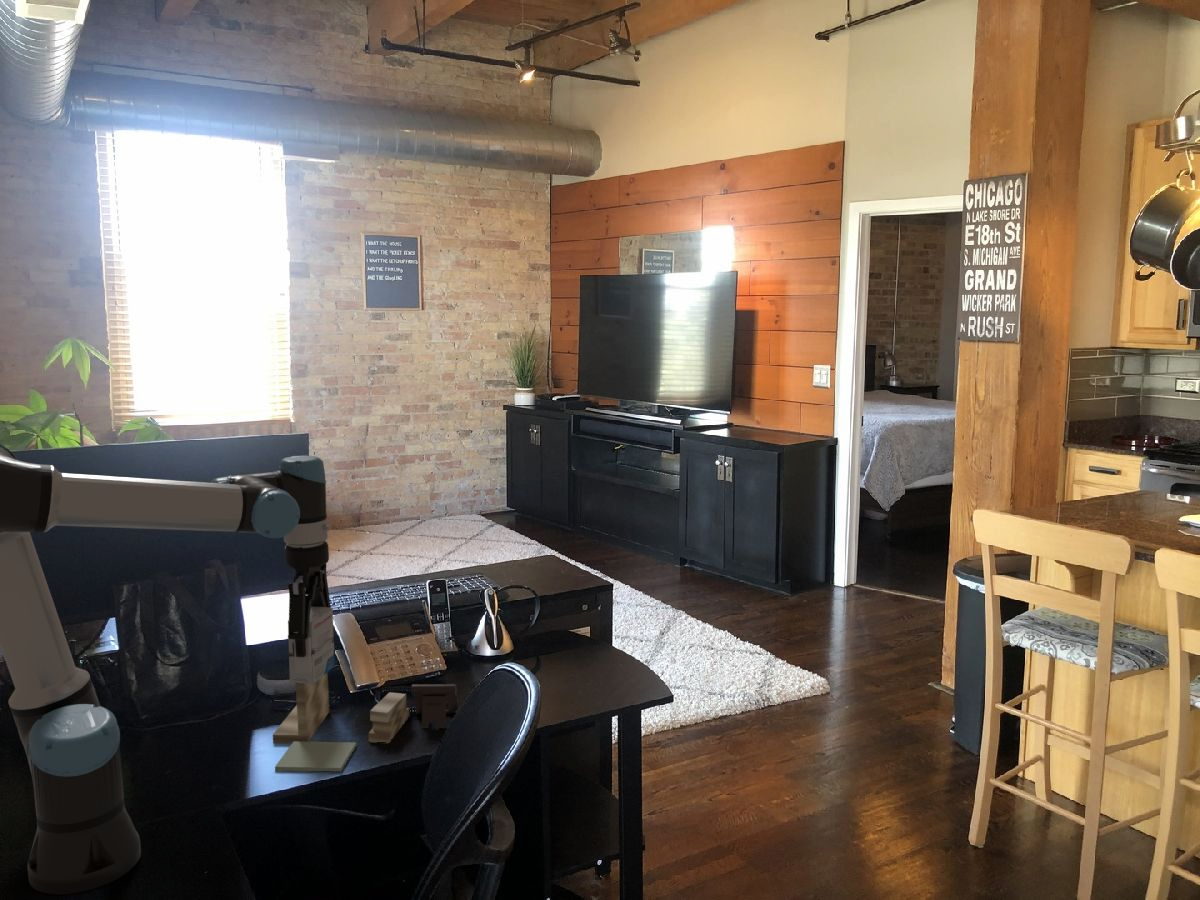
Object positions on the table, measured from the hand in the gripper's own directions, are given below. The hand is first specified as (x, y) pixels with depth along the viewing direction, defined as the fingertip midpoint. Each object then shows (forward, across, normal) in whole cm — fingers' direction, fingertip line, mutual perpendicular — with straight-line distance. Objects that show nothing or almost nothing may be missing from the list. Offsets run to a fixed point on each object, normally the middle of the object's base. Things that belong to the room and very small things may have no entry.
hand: (312, 661), depth 179 cm
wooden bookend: (+19, +13, +7) cm, 24 cm away
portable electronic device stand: (+19, +17, -19) cm, 32 cm away
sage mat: (+19, 0, 0) cm, 19 cm away
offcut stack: (+19, +13, -10) cm, 25 cm away
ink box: (+3, 0, 0) cm, 3 cm away
